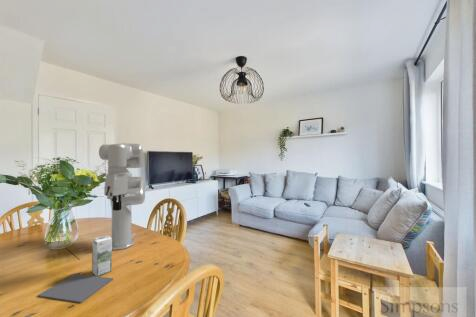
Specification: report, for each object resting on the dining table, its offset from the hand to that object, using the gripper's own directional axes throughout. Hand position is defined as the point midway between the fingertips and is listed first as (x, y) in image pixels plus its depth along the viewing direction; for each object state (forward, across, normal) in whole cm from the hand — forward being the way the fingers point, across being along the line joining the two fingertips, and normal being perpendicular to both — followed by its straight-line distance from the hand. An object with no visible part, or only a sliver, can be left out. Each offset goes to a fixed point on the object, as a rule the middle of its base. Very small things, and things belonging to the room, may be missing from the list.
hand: (117, 209), depth 98 cm
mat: (+25, +19, 0) cm, 31 cm away
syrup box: (+25, +8, 0) cm, 26 cm away
